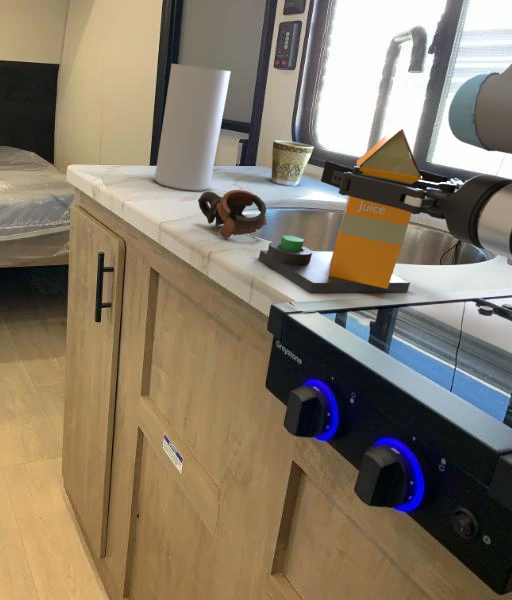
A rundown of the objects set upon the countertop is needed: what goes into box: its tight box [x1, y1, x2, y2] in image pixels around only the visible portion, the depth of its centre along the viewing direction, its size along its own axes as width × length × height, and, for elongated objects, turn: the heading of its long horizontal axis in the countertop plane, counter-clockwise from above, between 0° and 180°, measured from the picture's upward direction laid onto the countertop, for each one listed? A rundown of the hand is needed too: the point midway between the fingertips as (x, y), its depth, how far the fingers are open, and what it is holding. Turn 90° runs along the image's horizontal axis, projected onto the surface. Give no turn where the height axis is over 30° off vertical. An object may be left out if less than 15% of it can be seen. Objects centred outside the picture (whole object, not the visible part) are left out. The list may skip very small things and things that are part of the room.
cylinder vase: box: [154, 63, 232, 192], centre depth 131 cm, size 12×12×25 cm
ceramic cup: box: [270, 139, 315, 187], centre depth 155 cm, size 13×10×10 cm
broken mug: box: [197, 189, 267, 240], centre depth 100 cm, size 12×10×8 cm
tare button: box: [280, 235, 305, 252], centre depth 85 cm, size 3×3×2 cm
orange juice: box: [329, 123, 423, 289], centre depth 79 cm, size 8×9×20 cm
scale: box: [258, 240, 411, 294], centre depth 85 cm, size 16×13×3 cm
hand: (366, 174), depth 81 cm, fingers open, 13 cm apart
